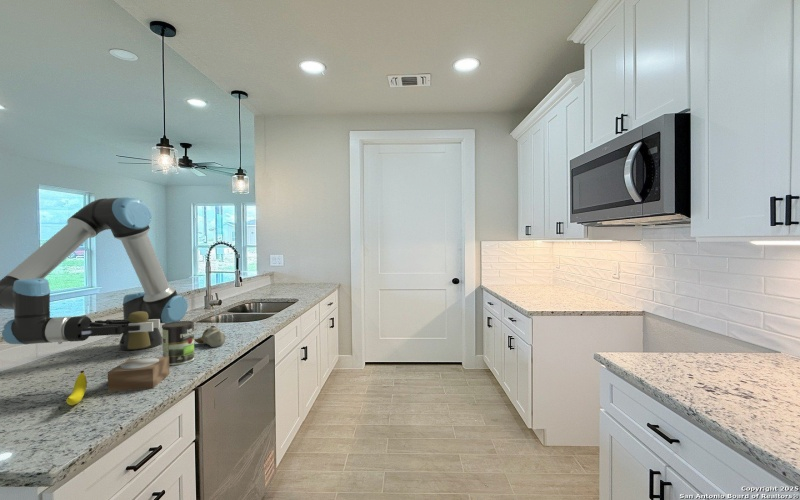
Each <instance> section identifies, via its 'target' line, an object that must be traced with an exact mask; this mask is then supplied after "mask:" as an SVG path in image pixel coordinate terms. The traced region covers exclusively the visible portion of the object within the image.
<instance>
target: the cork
mask: <svg viewBox="0 0 800 500" xmlns="http://www.w3.org/2000/svg"><path fill="white" fill-rule="evenodd" d="M128 320H129V322H130V323H146V321H147V320H148V313H147V312H144V311H137V312H133V313H131V314H130V315H129V317H128ZM150 345H151V344H150V338H149V333H148V332H129V340H128V347H127V348H128V349H139V348H144V347H148V346H150Z"/></svg>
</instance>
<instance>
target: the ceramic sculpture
mask: <svg viewBox="0 0 800 500" xmlns="http://www.w3.org/2000/svg"><path fill="white" fill-rule="evenodd" d="M226 339H227V336H226V334H225V332H223V331H222V330H220V329H219V328H218V326H215V325H211V326H210V327H209V328H206V329H205V330H204V331H203V333H202V335H201V337H198V338H194V342H196V343H197V344H199V345H200V344H206V345H208V346H210V347H211V348H219V347H221V346H222V345H223V344H225V342H226Z"/></svg>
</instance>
